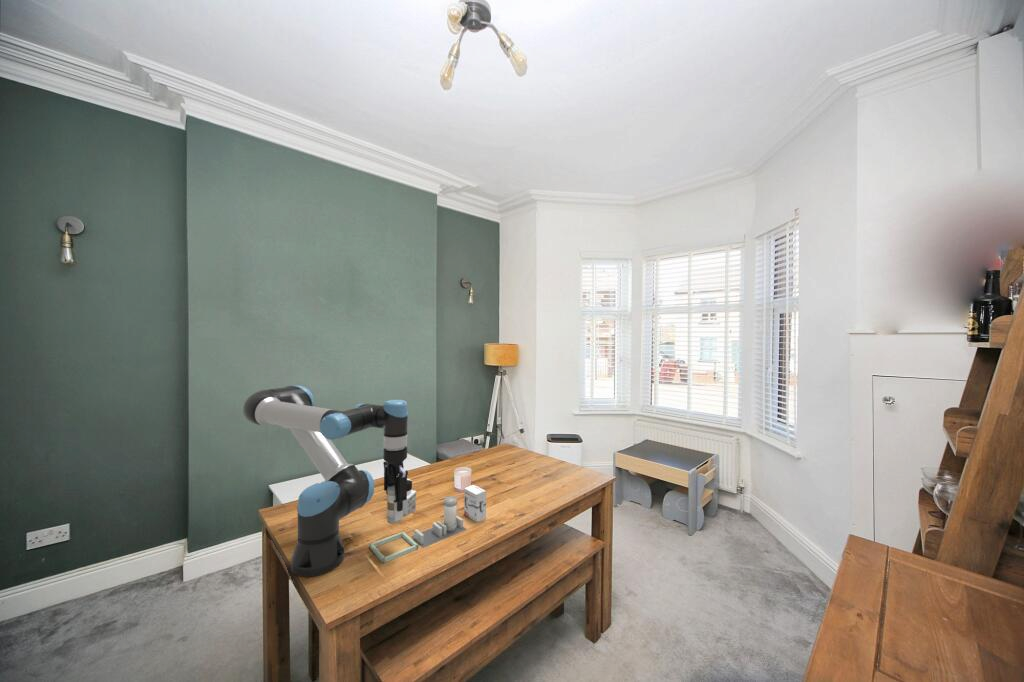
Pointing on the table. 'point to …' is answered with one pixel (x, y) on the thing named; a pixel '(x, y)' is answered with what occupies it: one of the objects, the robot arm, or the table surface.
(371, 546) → the parts tray
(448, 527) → the cylinder
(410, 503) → the container
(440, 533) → the fuse block
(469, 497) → the ink box
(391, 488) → the cylinder
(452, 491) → the table surface
